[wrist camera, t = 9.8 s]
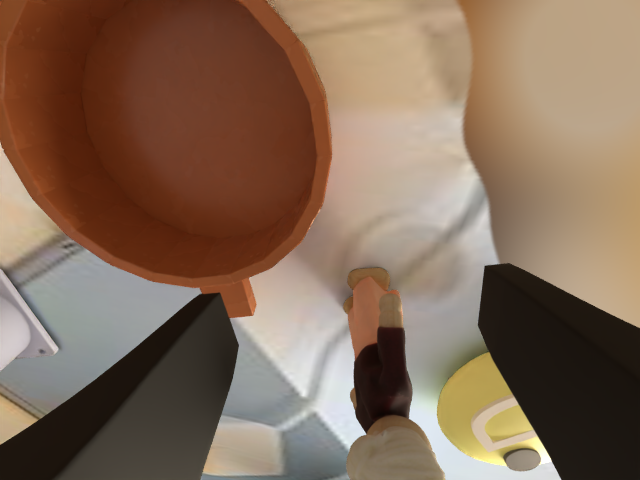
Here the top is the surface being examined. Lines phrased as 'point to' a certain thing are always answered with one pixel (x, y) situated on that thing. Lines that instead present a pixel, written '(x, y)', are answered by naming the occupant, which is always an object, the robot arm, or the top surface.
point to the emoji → (488, 418)
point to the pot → (167, 133)
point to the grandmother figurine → (383, 387)
